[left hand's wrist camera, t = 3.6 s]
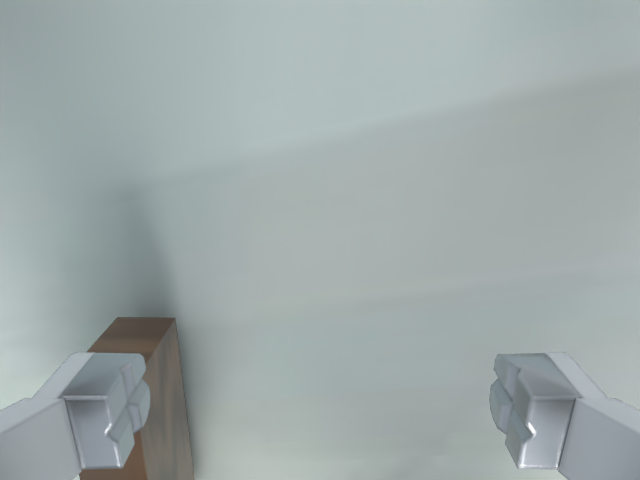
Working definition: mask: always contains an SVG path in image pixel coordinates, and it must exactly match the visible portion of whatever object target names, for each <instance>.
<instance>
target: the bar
mask: <svg viewBox="0 0 640 480" xmlns="http://www.w3.org/2000/svg"><path fill="white" fill-rule="evenodd" d="M86 353H139V354H141V355H142V356H143V357H144V360H145V365H146V371H145V373H144V374H143V376H142V379H143V380H144V381H145V382H146V383H147V384H148V385H149V389H150V408H149V413H148V417H147V420H146V422H145V424H144V426H143V428H142V429H141V430H139V431H138V432H136V433H135V434H134V435H133V436H134V441H135V444H134V446H133V448H132V450H131V452H130V454H129V456H128V458H127V460H126V462H125V464H124V466H123V468H114V469H81V473H79V476H80V480H194V471H193V463H192V455H191V446H190V438H189V429H188V421H187V413H186V404H185V396H184V387H183V379H182V370H181V362H180V354H179V345H178V337H177V328H176V320H175V318H130V317H118V318H116V320H115V321H114V322H113V323H112V324H111V325H110V326H109V327H108V329H107V330H106V331H105V332H104V333H103V334H102V335H101V336H100V338H99V339H98V340H97V341H96V342H95V343H94V344H93V345H92V347H91V348H90V349H89V350H88V351H87V352H86Z"/></svg>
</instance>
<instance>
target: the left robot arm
mask: <svg viewBox="0 0 640 480" xmlns="http://www.w3.org/2000/svg"><path fill="white" fill-rule="evenodd" d="M145 371H146V365H145V360H144V357H143V356H142V355H141V354H139V353H74V354H71V355H70V356H69V357H68V358H67V359H66V360H65V361H64V363H63V364H62V365H61V366H60V367H59V368H58V369H57V370H56V372H55V373H54V374H53V375H52V376H51V377H50V378H49V379H48V380H47V382H46V383H45V384H44V385H43V386H42V387H41V388H40V389H39V391H38V392H37V393H36V394H35V395H34V396H33V397H32V398H24V399H22V400H20V401H18V402H16V403H14V404H12V405H10V406H8V407H6V408H4V409H2V410H0V480H72V479H73V478H75V477H76V476H77V475H78V474H79V473H81V469H114V468H123V466H124V464H125V462H126V460H127V458H128V456H129V454H130V452H131V450H132V448H133V446H134V444H135V441H134V436H133V435H134V434H135V433H136V432H138V431H139V430H141V429H142V428H143V426H144V424H145V422H146V420H147V417H148V413H149V408H150V389H149V385H148V384H147V383H146V382H145V381H144V380H143V379H142V376H143V374H144V373H145ZM494 371H495V373H496V374H497V376H498V379H497V380H496V381H495V382H494V383H493V384H492V385H491V389H490V409H491V413H492V417H493V420H494V422H495V424H496V426H497V428H498V429H499V430H501V431H502V432H504V433H505V434H506V435H507V436H506V441H505V444H506V446H507V448H508V450H509V452H510V454H511V456H512V458H513V460H514V462H515V464H516V466H517V468H525V469H559V471H558V472H560V473H561V474H562V475H563V476H564V477H566V478H567V479H568V480H640V410H638V409H636V408H634V407H632V406H630V405H628V404H626V403H624V402H622V401H620V400H618V399H616V398H608V397H607V396H606V395H605V394H604V393H603V392H602V391H601V389H600V388H599V387H598V386H597V385H596V384H595V383H594V382H593V380H592V379H591V378H590V377H589V376H588V375H587V374H586V373H585V372H584V370H583V369H582V368H581V367H580V366H579V365H578V364H577V363H576V361H575V360H574V359H573V358H572V357H571V356H570V355H569V354H567V353H565V352H557V353H538V354H498V355H497V357H496V359H495V364H494Z"/></svg>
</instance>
